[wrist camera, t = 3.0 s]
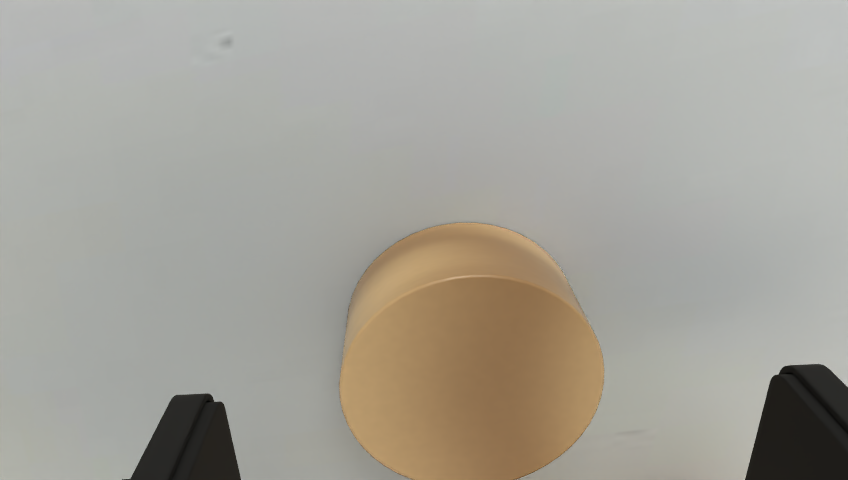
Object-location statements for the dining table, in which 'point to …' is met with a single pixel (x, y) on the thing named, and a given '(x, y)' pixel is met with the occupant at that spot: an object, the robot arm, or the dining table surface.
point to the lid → (467, 357)
